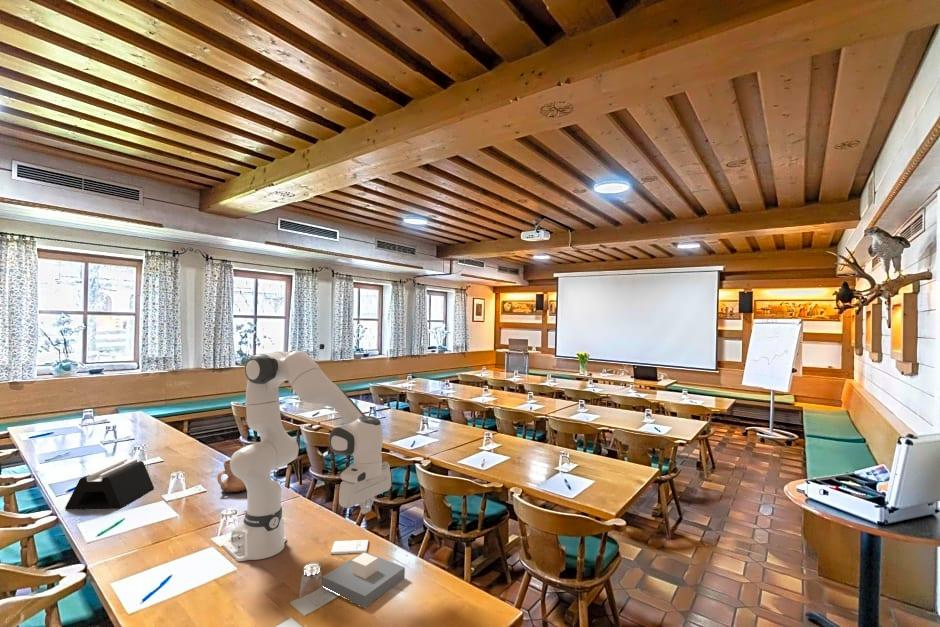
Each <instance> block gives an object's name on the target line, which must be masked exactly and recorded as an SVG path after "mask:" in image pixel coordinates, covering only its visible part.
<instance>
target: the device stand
mask: <svg viewBox="0 0 940 627" xmlns="http://www.w3.org/2000/svg"><path fill="white" fill-rule="evenodd" d="M154 489H155V487H154V485H153V481H152V479H151V477H150V475H149V472H148V471H147V468H146V466H145V463H144V461H143V460H139V461H138V459H137V458H134V459H131V460H129V461H128V458H124V459H121V460H119V461H117V462H115V463H112V464H110V465H108V466H105V467H103V468H101V469H99V470H96V471H94V472H91V473H89V474H87V475H85V476H83V477H80V479H79V480H78V482H77V484H76V486H75V487H74V490H73V492H72V494H71V496H70V497H69V498H68V501H67V503H66V504H65V507H64V509H65V510H69V511H70V510H117V509H118V510H119V509H120V508H121V509H122V508H124V507H126V506H127V505H129V504H131V503H132V502H134V501H136V500H137V499H139V498H141V497H143V496H144V495H146V494H148V493H150V492H151V491H153V490H154Z"/></svg>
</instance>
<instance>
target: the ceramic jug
mask: <svg viewBox="0 0 940 627" xmlns="http://www.w3.org/2000/svg"><path fill="white" fill-rule="evenodd" d="M230 460H231V458H230V459H228V460H225V461H223V468H224V469H223V470H220V471H219V472H218V474H217V477H216V478H217V482H218V484H219V486H220V489H221V491H223V492H225V493H229V492H231V494H233V493H232V492H236V493H240V491H242V492H245V491H247V489H246V486H245V484H244V482H243V481H242V480H241V479H239V478H237V477H236V476H234V474H233V473H232V472H231V469H230ZM224 474H225V475H226V476H227V477H226V478H225V479H224V480H223V481H222V475H224ZM244 490H245V491H244Z"/></svg>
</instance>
